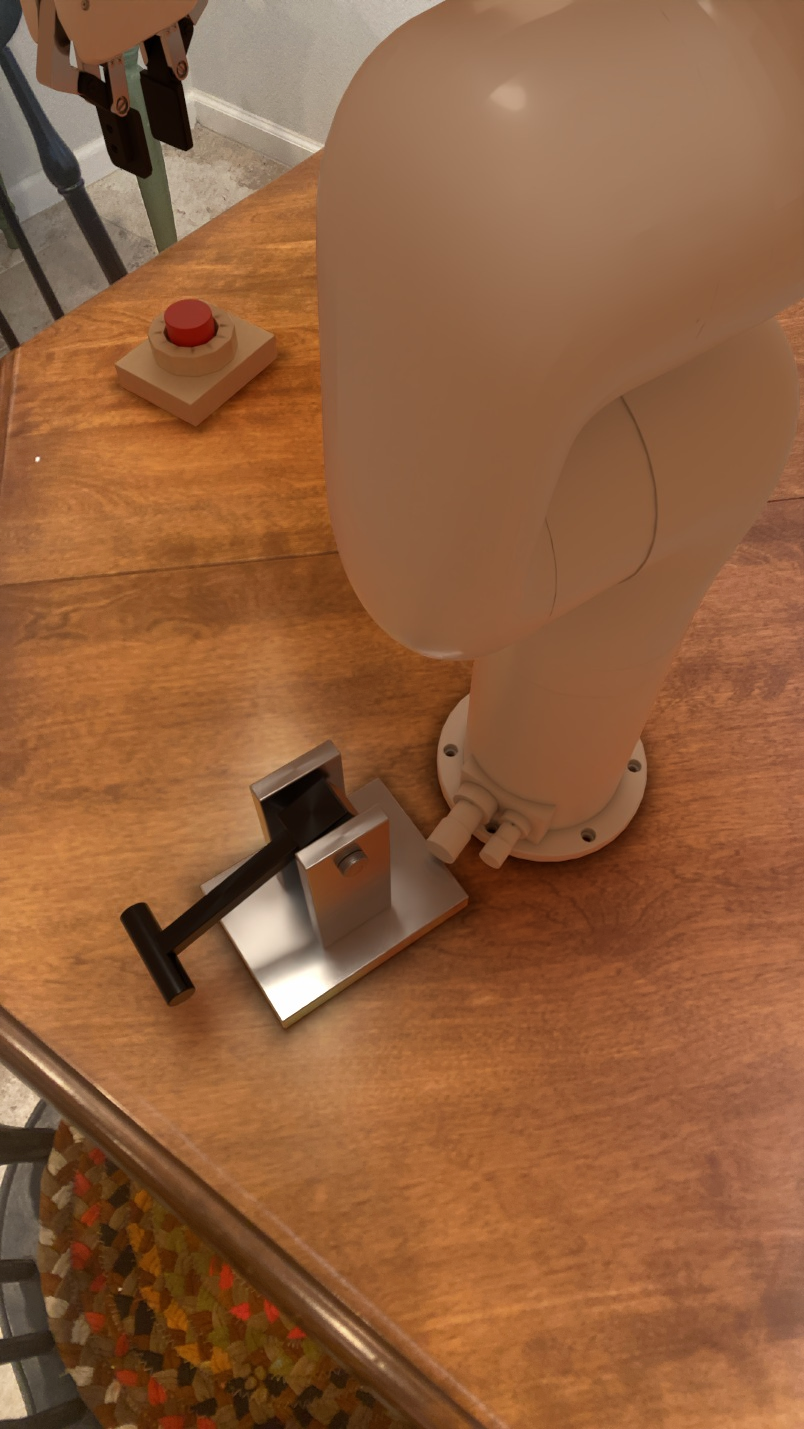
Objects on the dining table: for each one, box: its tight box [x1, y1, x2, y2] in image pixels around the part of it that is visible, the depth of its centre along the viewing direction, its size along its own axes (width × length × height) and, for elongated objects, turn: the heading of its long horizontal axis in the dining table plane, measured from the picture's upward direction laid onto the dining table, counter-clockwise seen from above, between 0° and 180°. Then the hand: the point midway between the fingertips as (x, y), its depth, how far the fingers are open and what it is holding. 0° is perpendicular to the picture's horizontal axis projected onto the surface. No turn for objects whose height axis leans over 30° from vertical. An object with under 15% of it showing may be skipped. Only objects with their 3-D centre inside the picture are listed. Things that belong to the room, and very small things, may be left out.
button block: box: [113, 298, 279, 427], centre depth 75 cm, size 10×8×4 cm
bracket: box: [198, 738, 470, 1029], centre depth 48 cm, size 12×9×13 cm
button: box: [164, 298, 215, 348], centre depth 73 cm, size 4×4×2 cm
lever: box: [119, 777, 359, 1008], centre depth 44 cm, size 12×5×2 cm, turn 124°
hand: (152, 153), depth 62 cm, fingers open, 3 cm apart
